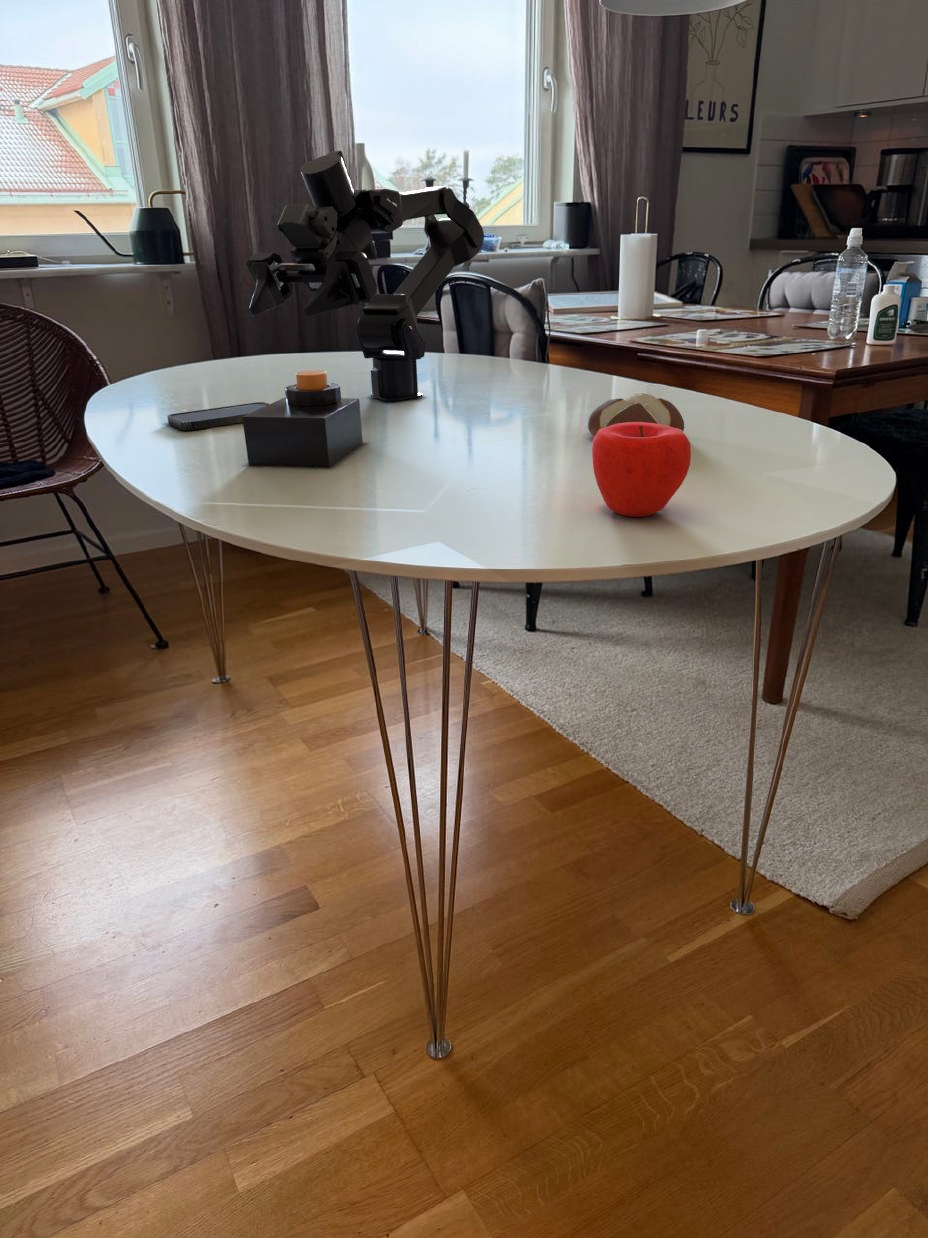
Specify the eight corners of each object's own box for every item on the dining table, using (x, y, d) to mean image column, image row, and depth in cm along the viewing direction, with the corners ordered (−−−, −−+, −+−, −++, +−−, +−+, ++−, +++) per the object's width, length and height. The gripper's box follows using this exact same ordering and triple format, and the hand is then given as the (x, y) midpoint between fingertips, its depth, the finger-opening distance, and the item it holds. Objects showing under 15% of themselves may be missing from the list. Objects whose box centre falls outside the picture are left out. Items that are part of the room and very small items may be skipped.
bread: (647, 424, 114) (649, 386, 112) (697, 442, 104) (700, 400, 102) (572, 433, 110) (573, 393, 108) (616, 452, 101) (618, 409, 98)
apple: (706, 513, 78) (714, 428, 75) (632, 532, 74) (638, 442, 71) (640, 491, 85) (645, 412, 82) (570, 507, 81) (572, 424, 78)
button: (304, 387, 106) (302, 370, 105) (331, 387, 105) (330, 370, 104) (293, 392, 103) (291, 374, 102) (321, 392, 102) (319, 375, 101)
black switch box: (291, 441, 111) (284, 381, 108) (364, 442, 109) (360, 382, 106) (248, 465, 100) (239, 400, 96) (329, 468, 98) (323, 401, 94)
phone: (165, 414, 123) (262, 401, 131) (166, 422, 124) (263, 408, 131) (183, 423, 117) (284, 408, 125) (184, 431, 118) (285, 416, 125)
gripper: (261, 193, 117) (195, 255, 109) (373, 186, 108) (310, 253, 101) (294, 268, 125) (235, 331, 117) (400, 267, 117) (344, 335, 109)
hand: (278, 312), depth 111 cm, fingers open, 9 cm apart
